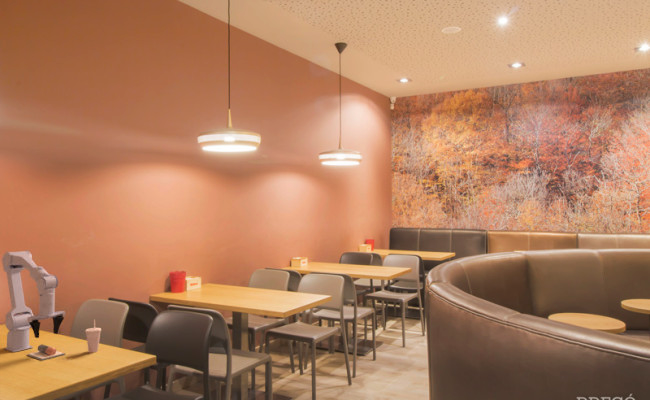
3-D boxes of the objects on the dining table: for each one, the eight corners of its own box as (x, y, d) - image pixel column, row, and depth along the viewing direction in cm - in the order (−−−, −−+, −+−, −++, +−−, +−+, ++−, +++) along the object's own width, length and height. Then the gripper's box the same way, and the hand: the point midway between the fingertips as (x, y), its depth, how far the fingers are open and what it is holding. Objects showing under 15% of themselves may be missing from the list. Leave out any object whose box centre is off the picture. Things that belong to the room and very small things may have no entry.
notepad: (26, 355, 195) (26, 353, 195) (50, 349, 203) (50, 348, 203) (41, 360, 187) (41, 359, 187) (65, 354, 195) (65, 353, 196)
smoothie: (94, 353, 196) (94, 321, 197) (81, 353, 198) (82, 320, 198) (104, 349, 203) (104, 318, 203) (91, 348, 204) (92, 317, 204)
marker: (36, 351, 197) (38, 344, 197) (44, 351, 199) (45, 344, 199) (48, 355, 191) (49, 348, 192) (55, 354, 194) (56, 347, 194)
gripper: (33, 307, 187) (32, 340, 187) (68, 302, 200) (68, 333, 199) (25, 306, 191) (24, 338, 191) (60, 300, 203) (60, 330, 203)
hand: (46, 335), depth 195 cm, fingers open, 7 cm apart
